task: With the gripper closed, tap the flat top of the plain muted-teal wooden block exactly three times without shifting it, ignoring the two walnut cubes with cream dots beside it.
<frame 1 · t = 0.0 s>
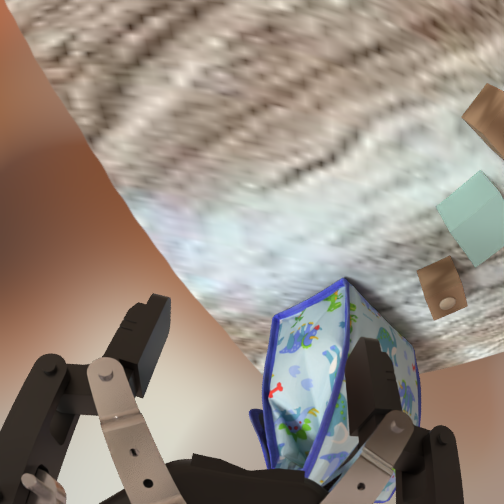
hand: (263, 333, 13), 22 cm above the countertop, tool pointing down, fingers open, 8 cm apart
dotted cube 1: (437, 274, 38), on the countertop
lunch bag: (345, 331, 48), on the countertop
dotted cube 2: (488, 115, 24), on the countertop
plain block: (471, 207, 31), on the countertop
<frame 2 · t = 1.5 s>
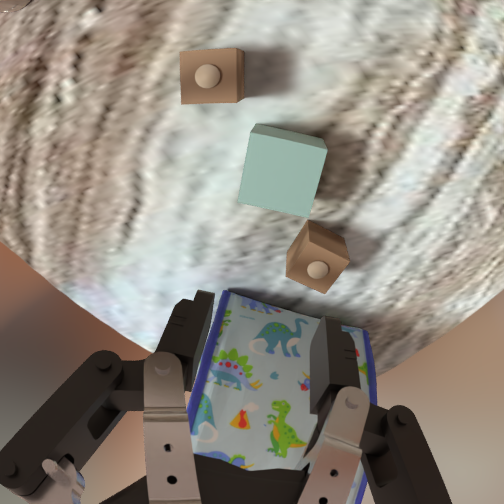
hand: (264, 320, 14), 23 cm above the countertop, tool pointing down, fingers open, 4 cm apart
dotted cube 1: (315, 245, 38), on the countertop
lunch bag: (282, 339, 48), on the countertop
dotted cube 2: (219, 75, 29), on the countertop
plain block: (282, 161, 34), on the countertop
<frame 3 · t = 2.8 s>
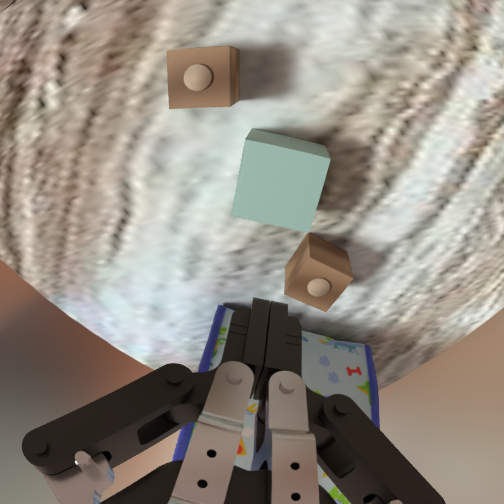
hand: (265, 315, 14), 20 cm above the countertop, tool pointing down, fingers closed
dotted cube 1: (316, 258, 36), on the countertop
lunch bag: (280, 354, 45), on the countertop
dotted cube 2: (212, 75, 27), on the countertop
plain block: (280, 169, 31), on the countertop
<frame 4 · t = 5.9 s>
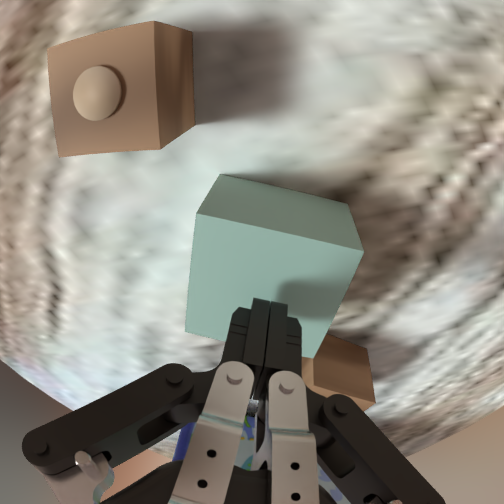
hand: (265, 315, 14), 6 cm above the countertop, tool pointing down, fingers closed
dotted cube 1: (321, 357, 24), on the countertop
lunch bag: (272, 441, 33), on the countertop
dotted cube 2: (147, 82, 15), on the countertop
plain block: (270, 242, 19), on the countertop
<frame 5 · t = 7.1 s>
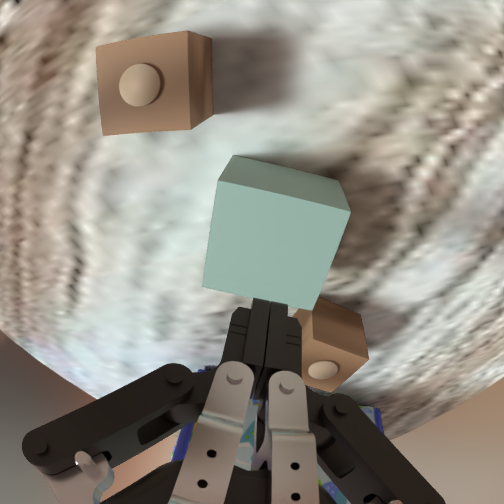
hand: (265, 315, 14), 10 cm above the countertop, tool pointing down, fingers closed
dotted cube 1: (320, 323, 27), on the countertop
lunch bag: (275, 414, 36), on the countertop
dotted cube 2: (173, 79, 18), on the countertop
plain block: (274, 213, 22), on the countertop
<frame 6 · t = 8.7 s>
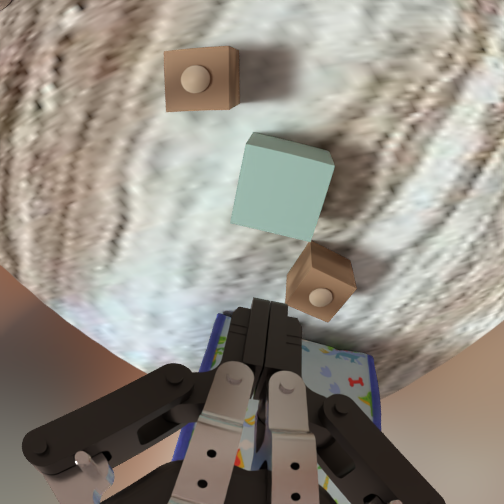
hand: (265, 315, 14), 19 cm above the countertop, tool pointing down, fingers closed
dotted cube 1: (318, 267, 35), on the countertop
lunch bag: (281, 363, 44), on the countertop
dotted cube 2: (211, 77, 26), on the countertop
plain block: (282, 175, 30), on the countertop
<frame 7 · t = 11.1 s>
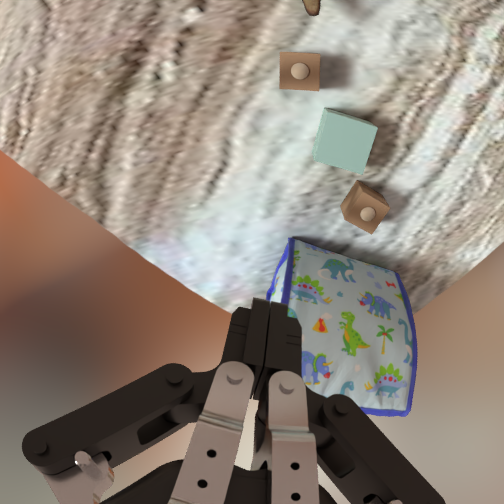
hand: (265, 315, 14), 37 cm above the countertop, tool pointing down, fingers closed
dotted cube 1: (361, 200, 49), on the countertop
lunch bag: (330, 283, 58), on the countertop
dotted cube 2: (298, 71, 40), on the countertop
plain block: (340, 136, 44), on the countertop
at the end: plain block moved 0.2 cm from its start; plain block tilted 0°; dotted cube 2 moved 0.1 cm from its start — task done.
